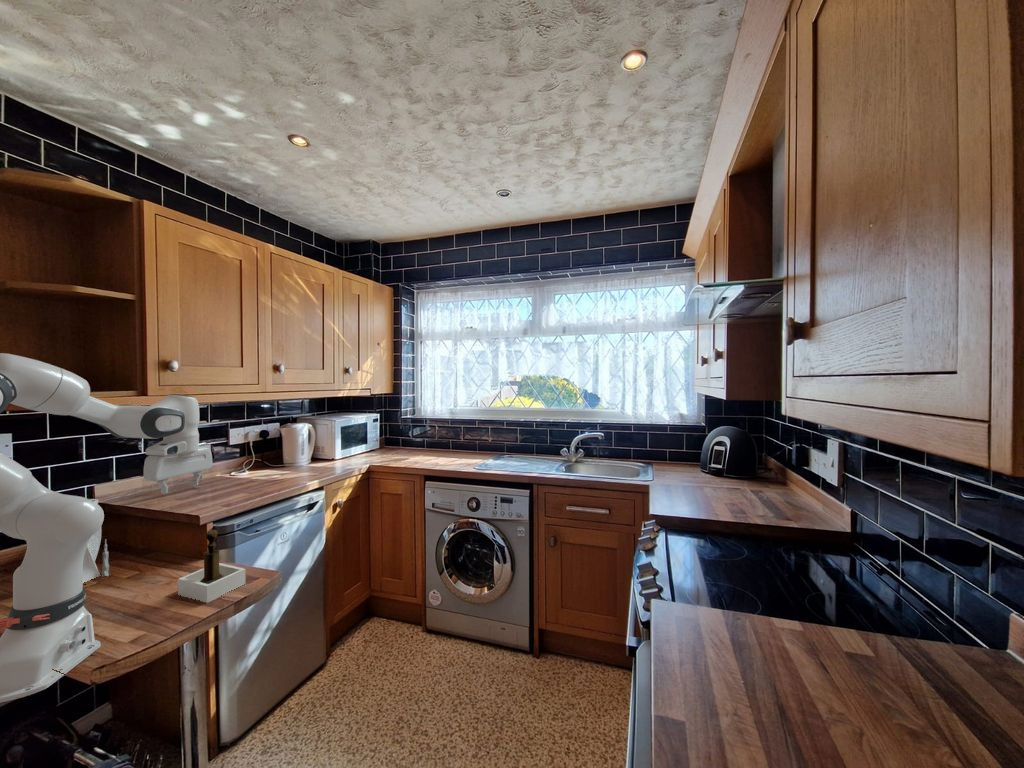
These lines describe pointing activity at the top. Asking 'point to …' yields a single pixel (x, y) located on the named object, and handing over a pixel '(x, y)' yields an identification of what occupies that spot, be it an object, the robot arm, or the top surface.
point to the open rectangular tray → (209, 592)
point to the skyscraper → (94, 556)
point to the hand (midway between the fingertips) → (180, 489)
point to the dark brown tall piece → (211, 560)
